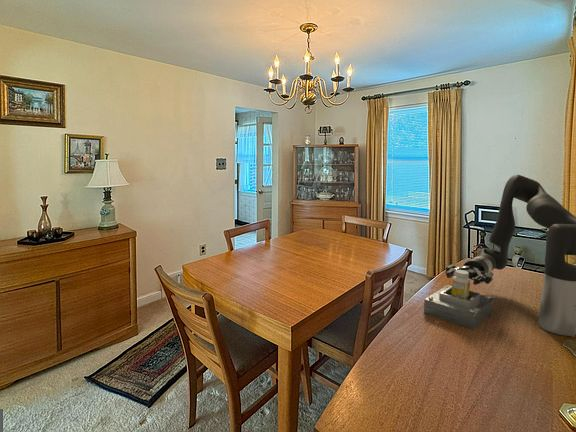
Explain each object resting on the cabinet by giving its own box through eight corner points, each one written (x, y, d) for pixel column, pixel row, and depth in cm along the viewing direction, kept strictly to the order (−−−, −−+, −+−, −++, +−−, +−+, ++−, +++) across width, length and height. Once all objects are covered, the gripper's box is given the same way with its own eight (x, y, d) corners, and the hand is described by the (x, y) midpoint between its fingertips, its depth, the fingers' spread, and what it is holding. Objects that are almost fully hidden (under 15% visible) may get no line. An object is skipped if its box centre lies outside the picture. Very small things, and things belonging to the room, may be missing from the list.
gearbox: (492, 311, 111) (494, 292, 110) (473, 330, 99) (475, 309, 98) (445, 297, 123) (446, 280, 121) (423, 312, 111) (424, 293, 110)
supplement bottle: (457, 301, 107) (459, 274, 106) (447, 295, 112) (449, 269, 111) (472, 301, 108) (474, 274, 106) (462, 294, 113) (464, 268, 111)
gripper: (458, 254, 124) (440, 263, 113) (500, 262, 113) (485, 273, 103) (457, 272, 125) (439, 283, 115) (498, 282, 115) (483, 295, 104)
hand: (461, 278), depth 109 cm, fingers open, 8 cm apart
